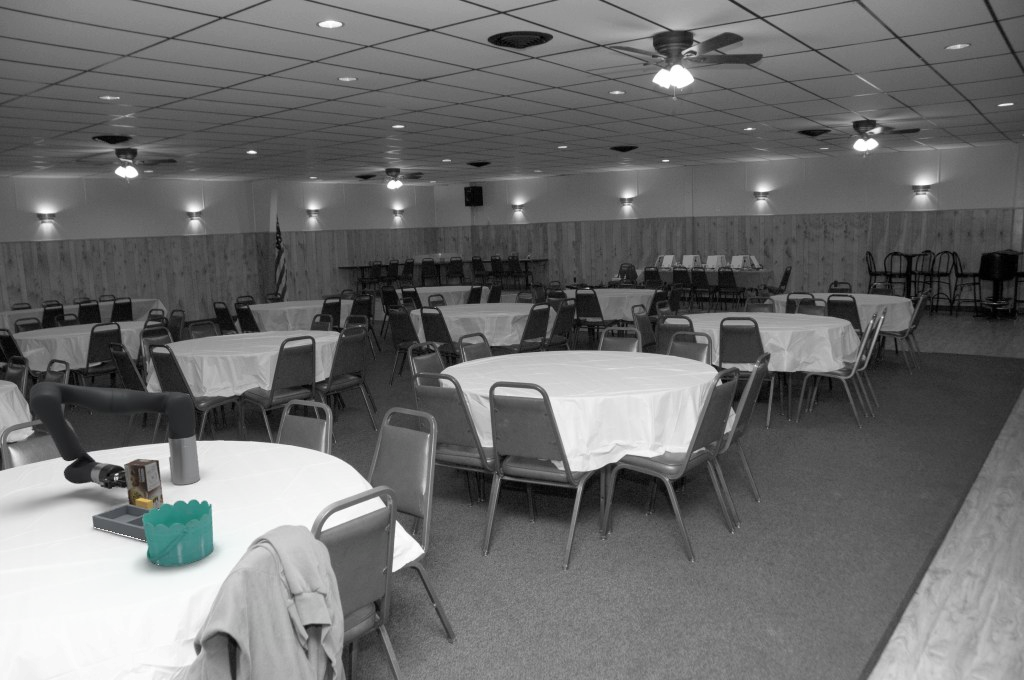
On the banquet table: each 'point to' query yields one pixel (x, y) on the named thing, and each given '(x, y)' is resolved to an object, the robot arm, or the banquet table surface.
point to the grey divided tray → (125, 519)
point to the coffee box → (144, 481)
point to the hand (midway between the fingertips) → (137, 481)
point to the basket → (179, 532)
